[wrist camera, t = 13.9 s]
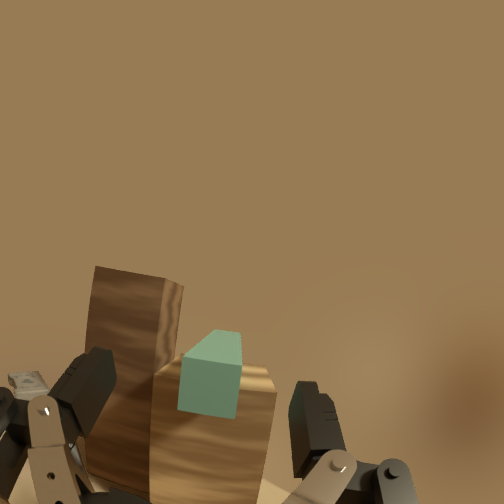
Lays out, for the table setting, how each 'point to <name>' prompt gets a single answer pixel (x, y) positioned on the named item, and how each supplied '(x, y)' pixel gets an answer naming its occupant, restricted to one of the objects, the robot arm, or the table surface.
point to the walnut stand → (129, 367)
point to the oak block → (209, 442)
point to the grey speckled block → (28, 385)
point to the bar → (212, 375)
